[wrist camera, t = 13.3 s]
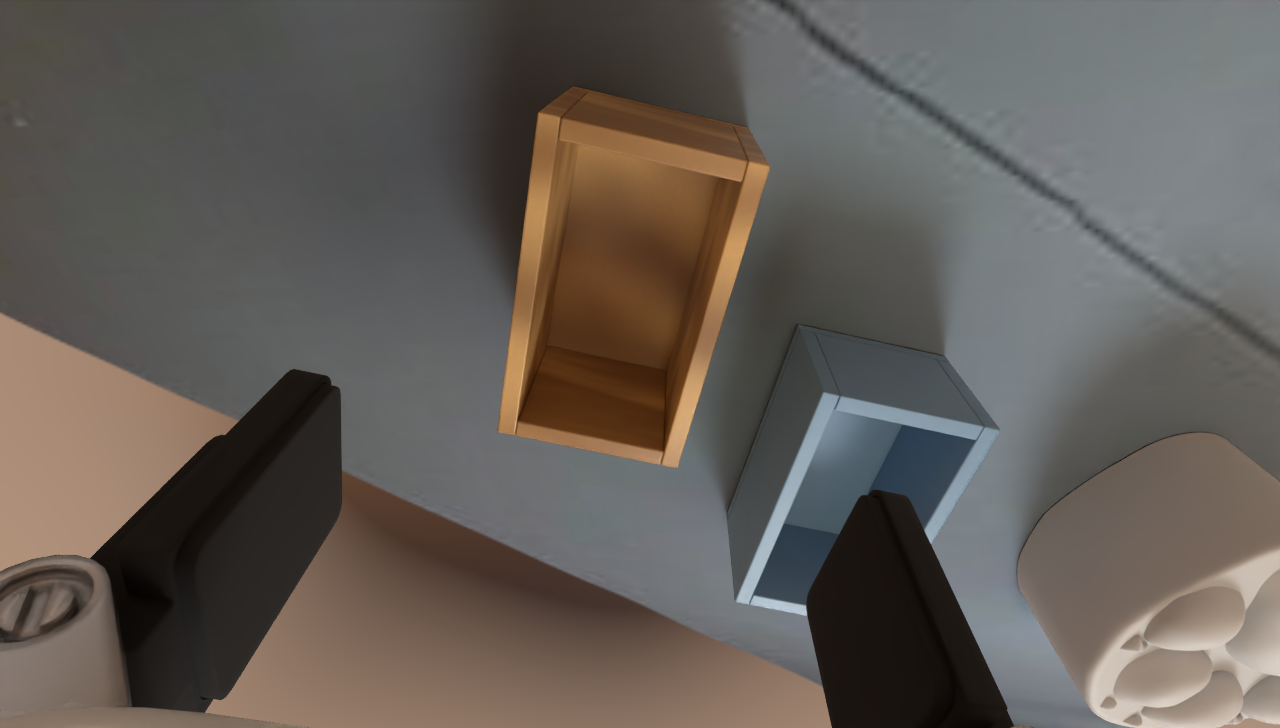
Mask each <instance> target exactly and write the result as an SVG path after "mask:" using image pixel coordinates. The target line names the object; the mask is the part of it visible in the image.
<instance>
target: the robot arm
mask: <svg viewBox="0 0 1280 728" xmlns="http://www.w3.org/2000/svg"><path fill="white" fill-rule="evenodd" d="M341 505H342V463H341V394H340V389H339V388H338V387H336V386H331V380H330V378H329V377H328V376H325V375H320V374H315V373H311V372H306V371H301V370H296V369H293V370H290V371H289V372H287V373H286V374H285V375H284V376H283V377H282V378H281V379H280V380H279V381H278V382H277V383H276V384H275V385H274V386H273V387H272V388H271V389H270V390H269V391H268V392H267V393H266V394H265V395H264V396H263V397H262V398H261V399H260V401H259V402H258V403H257V404H256V405H255V406H254V407H253V408H252V409H251V410H250V411H249V412H248V413H247V414H246V415H245V416H244V417H243V418H242V419H241V420H240V421H239V422H238V423H237V424H236V425H235V426H234V427H233V428H232V429H231V430H230V431H229V432H228V433H227V434H226V435H220V436H216V437H214V438H213V439H211V440H210V441H209V442H207V443H206V444H205V445H204V446H203V447H202V448H201V449H200V450H199V451H198V452H197V453H196V454H195V455H194V456H193V457H192V458H191V459H190V460H189V461H188V462H187V463H186V464H185V465H184V466H183V467H182V468H181V469H180V470H179V471H178V472H177V473H176V474H175V475H174V476H173V477H172V478H171V479H170V480H169V481H168V482H167V483H166V484H165V485H164V486H163V487H162V488H161V489H160V490H159V491H158V492H157V493H156V494H155V495H154V496H153V497H152V498H151V499H149V501H148V502H147V503H146V504H144V506H142V507H141V508H140V509H139V510H138V511H137V512H136V513H135V514H134V515H133V516H132V517H131V518H130V519H129V520H128V521H127V522H126V523H125V524H124V525H123V526H122V527H121V528H120V529H119V530H118V531H117V532H116V533H115V534H114V535H113V536H112V537H111V538H110V539H109V540H108V541H107V542H106V543H105V544H104V545H103V546H102V547H101V548H100V549H99V550H98V551H97V552H96V553H95V554H94V555H93V556H92V557H91V558H90V559H89V558H85V557H81V556H78V555H54V556H48V557H42V558H36V559H31V560H28V561H26V562H23V563H20V564H17V565H14V566H11V567H8V568H6V569H4V570H3V571H1V572H0V728H308V727H301V726H293V725H287V724H280V723H273V722H265V721H259V720H251V719H244V718H237V717H230V716H223V715H216V714H209V713H205V711H206V710H207V708H208V707H209V705H210V704H211V702H212V700H213V699H217V700H222V699H224V698H225V697H226V696H227V695H228V694H229V692H230V691H231V690H232V688H233V686H234V685H235V683H236V682H237V680H238V678H239V677H240V675H241V674H242V672H243V671H244V669H245V667H246V666H247V664H248V662H249V661H250V659H251V657H252V656H253V654H254V653H255V651H256V650H257V648H258V646H259V645H260V643H261V641H262V640H263V638H264V637H265V635H266V634H267V632H268V630H269V629H270V627H271V626H272V624H273V622H274V621H275V619H276V617H277V616H278V614H279V613H280V611H281V609H282V608H283V606H284V605H285V603H286V601H287V600H288V598H289V597H290V595H291V593H292V592H293V590H294V589H295V587H296V585H297V584H298V582H299V581H300V579H301V577H302V576H303V574H304V572H305V571H306V569H307V568H308V566H309V564H310V563H311V561H312V560H313V558H314V556H315V555H316V553H317V552H318V550H319V548H320V547H321V545H322V544H323V542H324V540H325V539H326V537H327V536H328V534H329V532H330V530H331V529H332V528H333V526H334V524H335V523H336V521H337V518H338V516H339V513H340V510H341ZM806 610H807V616H808V620H809V625H810V630H811V634H812V639H813V643H814V648H815V652H816V657H817V661H818V666H819V671H820V675H821V680H822V684H823V689H824V693H825V698H826V703H827V707H828V712H829V716H830V721H831V725H832V728H1034V727H1031V726H1021V725H1017V726H1014V725H1013V723H1012V721H1011V718H1010V716H1009V714H1008V712H1007V709H1008V708H1007V706H1006V704H1005V702H1004V700H1003V698H1002V695H1001V693H1000V691H999V689H998V687H997V685H996V683H995V680H994V678H993V676H992V674H991V672H990V670H989V668H988V665H987V663H986V661H985V659H984V657H983V655H982V653H981V651H980V648H979V646H978V644H977V642H976V640H975V638H974V636H973V633H972V631H971V629H970V627H969V625H968V623H967V621H966V618H965V616H964V614H963V612H962V610H961V608H960V606H959V604H958V601H957V599H956V597H955V595H954V593H953V591H952V589H951V586H950V584H949V582H948V580H947V578H946V576H945V574H944V571H943V569H942V567H941V565H940V563H939V561H938V559H937V557H936V554H935V552H934V550H933V548H932V546H931V544H930V542H929V539H928V537H927V535H926V533H925V531H924V529H923V527H922V524H921V522H920V520H919V518H918V516H917V514H916V512H915V510H914V507H913V505H912V503H911V501H910V500H909V498H908V497H907V496H905V495H901V494H897V493H892V492H887V491H882V490H877V489H876V490H872V491H871V492H870V493H869V494H868V496H867V495H862V496H860V497H859V498H858V500H857V502H856V503H855V505H854V507H853V509H852V511H851V513H850V515H849V517H848V518H847V520H846V522H845V524H844V526H843V528H842V530H841V532H840V533H839V535H838V537H837V539H836V541H835V543H834V545H833V547H832V548H831V550H830V552H829V554H828V556H827V558H826V560H825V562H824V563H823V565H822V567H821V569H820V571H819V573H818V575H817V577H816V578H815V580H814V582H813V584H812V586H811V588H810V590H809V592H808V595H807V601H806Z"/></svg>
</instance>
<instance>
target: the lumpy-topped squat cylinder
mask: <svg viewBox="0 0 1280 728" xmlns="http://www.w3.org/2000/svg"><path fill="white" fill-rule="evenodd" d="M1017 581H1018V586H1019V589H1020V591H1021V593H1022V595H1023V596H1024V598H1025V600H1026V602H1027V603H1028V605H1029V607H1030V608H1031V610H1032V612H1033V614H1034V615H1035V617H1036V619H1037V620H1038V622H1039V624H1040V626H1041V627H1042V629H1043V631H1044V632H1045V634H1046V636H1047V638H1048V639H1049V641H1050V643H1051V645H1052V646H1053V648H1054V650H1055V651H1056V653H1057V655H1058V656H1059V658H1060V660H1061V661H1062V663H1063V665H1064V667H1065V668H1066V670H1067V672H1068V673H1069V675H1070V677H1071V678H1072V680H1073V682H1074V683H1075V685H1076V687H1077V688H1078V690H1079V692H1080V693H1081V695H1082V697H1083V698H1084V700H1085V702H1086V703H1087V705H1088V706H1089V708H1090V709H1091V710H1092V711H1093V712H1094V713H1095V714H1096V715H1098V716H1099V717H1101V718H1103V719H1105V720H1107V721H1109V722H1112V723H1115V724H1118V725H1122V726H1128V727H1134V728H1218V727H1221V726H1223V725H1225V724H1232V725H1234V724H1235V725H1236V724H1239V723H1240V722H1242V720H1243V719H1246V718H1253V719H1255V720H1258V721H1261V722H1265V723H1270V724H1277V725H1280V482H1279V481H1278V480H1277V479H1275V478H1274V477H1273V476H1272V475H1270V474H1269V473H1268V472H1267V471H1265V470H1264V469H1263V468H1262V467H1260V466H1259V465H1258V464H1257V463H1255V462H1254V461H1253V460H1251V459H1250V458H1249V457H1248V456H1246V455H1245V454H1244V453H1243V452H1241V451H1240V450H1239V449H1238V448H1236V447H1235V446H1234V445H1233V444H1231V443H1230V442H1229V441H1228V440H1226V439H1225V438H1223V437H1221V436H1219V435H1216V434H1212V433H1187V434H1181V435H1176V436H1172V437H1169V438H1166V439H1163V440H1160V441H1158V442H1155V443H1153V444H1151V445H1149V446H1146V447H1144V448H1143V449H1141V450H1139V451H1137V452H1135V453H1133V454H1132V455H1130V456H1128V457H1126V458H1125V459H1123V460H1121V461H1120V462H1118V463H1116V464H1114V465H1112V466H1111V467H1109V468H1107V469H1106V470H1104V471H1102V472H1101V473H1099V474H1098V475H1096V476H1094V477H1093V478H1091V479H1090V480H1088V481H1087V482H1085V483H1084V484H1082V485H1081V486H1080V487H1078V488H1077V489H1075V490H1074V491H1072V492H1071V493H1070V494H1068V495H1067V496H1066V497H1064V498H1063V499H1062V500H1060V501H1059V502H1058V503H1056V504H1055V505H1054V506H1053V507H1052V508H1050V509H1049V510H1048V511H1047V512H1046V513H1045V514H1044V515H1043V517H1042V518H1041V519H1040V521H1039V522H1038V524H1037V525H1036V527H1035V528H1034V530H1033V531H1032V533H1031V535H1030V536H1029V538H1028V540H1027V542H1026V544H1025V546H1024V548H1023V550H1022V552H1021V554H1020V557H1019V560H1018V567H1017Z"/></svg>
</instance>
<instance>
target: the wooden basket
mask: <svg viewBox="0 0 1280 728" xmlns="http://www.w3.org/2000/svg"><path fill="white" fill-rule="evenodd" d="M769 169H770V165H769V164H768V162H767V160H766V158H765V156H764V155H763V153H762V151H761V149H760V148H759V146H758V144H757V142H756V140H755V139H754V137H753V135H752V133H751V132H750V130H749V128H748V127H744V126H739V125H735V124H731V123H727V122H723V121H718V120H714V119H710V118H706V117H701V116H697V115H693V114H689V113H684V112H680V111H676V110H672V109H668V108H663V107H659V106H655V105H651V104H646V103H642V102H638V101H634V100H629V99H625V98H621V97H617V96H612V95H608V94H604V93H600V92H596V91H591V90H587V89H583V88H579V87H574V86H573V87H571V88H570V89H568V90H567V91H566V92H564V93H563V94H562V95H560V96H559V97H558V98H556V99H555V100H554V101H552V102H551V103H550V104H548V105H547V106H546V107H544V108H543V109H542V110H541V111H539V112H538V117H537V124H536V132H535V140H534V148H533V156H532V164H531V172H530V180H529V188H528V195H527V203H526V211H525V219H524V227H523V235H522V243H521V251H520V258H519V266H518V274H517V282H516V290H515V298H514V306H513V314H512V322H511V329H510V337H509V345H508V353H507V361H506V369H505V377H504V385H503V393H502V400H501V408H500V416H499V424H498V432H501V433H506V434H511V435H515V434H516V435H517V436H522V437H527V438H532V439H536V440H541V441H546V442H551V443H556V444H561V445H566V446H571V447H576V448H581V449H585V450H590V451H595V452H600V453H605V454H610V455H615V456H620V457H625V458H630V459H634V460H639V461H644V462H649V463H654V464H660V463H661V465H664V466H668V467H673V468H677V467H678V465H679V462H680V458H681V455H682V452H683V449H684V445H685V442H686V439H687V436H688V432H689V429H690V426H691V423H692V419H693V416H694V413H695V410H696V406H697V403H698V400H699V397H700V393H701V390H702V387H703V384H704V380H705V377H706V374H707V371H708V367H709V364H710V361H711V358H712V354H713V351H714V348H715V345H716V341H717V338H718V335H719V332H720V328H721V325H722V322H723V319H724V315H725V312H726V309H727V306H728V302H729V299H730V296H731V293H732V289H733V286H734V283H735V280H736V276H737V273H738V270H739V266H740V263H741V260H742V257H743V253H744V250H745V247H746V244H747V240H748V237H749V234H750V231H751V227H752V224H753V221H754V218H755V214H756V211H757V208H758V205H759V201H760V198H761V195H762V192H763V188H764V185H765V182H766V179H767V175H768V172H769Z"/></svg>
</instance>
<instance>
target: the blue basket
mask: <svg viewBox="0 0 1280 728" xmlns="http://www.w3.org/2000/svg"><path fill="white" fill-rule="evenodd" d="M999 432H1000V429H999V427H998V426H997V425H996V424H995V422H994V421H993V420H992V418H991V417H990V416H989V414H988V413H987V412H986V410H985V409H984V408H983V406H982V405H981V404H980V402H979V401H978V400H977V398H976V397H975V396H974V394H973V393H972V392H971V390H970V389H969V388H968V386H967V385H966V384H965V382H964V381H963V380H962V378H961V377H960V376H959V374H958V373H957V372H956V371H955V369H954V368H953V367H952V365H951V364H950V363H949V361H948V360H947V358H946V357H944V356H940V355H935V354H931V353H926V352H922V351H917V350H912V349H908V348H903V347H899V346H894V345H890V344H885V343H881V342H876V341H872V340H867V339H863V338H858V337H854V336H849V335H844V334H840V333H835V332H831V331H826V330H822V329H817V328H813V327H808V326H804V325H798V326H797V328H796V331H795V334H794V336H793V339H792V342H791V344H790V347H789V350H788V352H787V355H786V358H785V360H784V363H783V366H782V368H781V371H780V374H779V376H778V379H777V382H776V384H775V387H774V390H773V392H772V395H771V398H770V400H769V403H768V406H767V408H766V411H765V414H764V416H763V419H762V422H761V424H760V427H759V430H758V432H757V435H756V438H755V440H754V443H753V446H752V448H751V451H750V454H749V456H748V459H747V462H746V464H745V467H744V470H743V472H742V475H741V478H740V480H739V483H738V486H737V488H736V491H735V493H734V496H733V499H732V501H731V504H730V507H729V509H728V512H727V521H728V522H727V523H728V534H729V544H730V555H731V565H732V576H733V587H734V597H735V602H739V603H744V604H750V605H754V606H759V607H764V608H770V609H775V610H780V611H785V612H790V613H795V614H801V615H806V616H807V610H806V601H807V595H808V592H809V590H810V588H811V586H812V584H813V582H814V580H815V578H816V577H817V575H818V573H819V571H820V569H821V567H822V565H823V563H824V562H825V560H826V558H827V556H828V554H829V552H830V550H831V548H832V547H833V545H834V543H835V541H836V539H837V537H838V535H839V533H840V532H841V530H842V528H843V526H844V524H845V522H846V520H847V518H848V517H849V515H850V513H851V511H852V509H853V507H854V505H855V503H856V502H857V500H858V498H859V497H860V496H862V495H867V496H868V494H869V493H870V492H871V491H872V490H876V489H877V490H882V491H887V492H892V493H897V494H901V495H905V496H907V497H908V498H909V500H910V501H911V503H912V505H913V507H914V510H915V512H916V514H917V516H918V518H919V520H920V522H921V524H922V527H923V529H924V531H925V533H926V535H927V537H928V539H929V542H930V544H932V543H933V541H934V539H935V538H936V536H937V534H938V533H939V531H940V529H941V528H942V526H943V524H944V523H945V521H946V519H947V518H948V516H949V514H950V513H951V511H952V510H953V508H954V506H955V505H956V503H957V501H958V500H959V498H960V496H961V495H962V493H963V491H964V490H965V488H966V486H967V485H968V483H969V481H970V480H971V478H972V476H973V475H974V473H975V472H976V470H977V468H978V467H979V465H980V463H981V462H982V460H983V458H984V457H985V455H986V453H987V452H988V450H989V448H990V447H991V445H992V443H993V442H994V440H995V438H996V437H997V435H998V434H999Z"/></svg>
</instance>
